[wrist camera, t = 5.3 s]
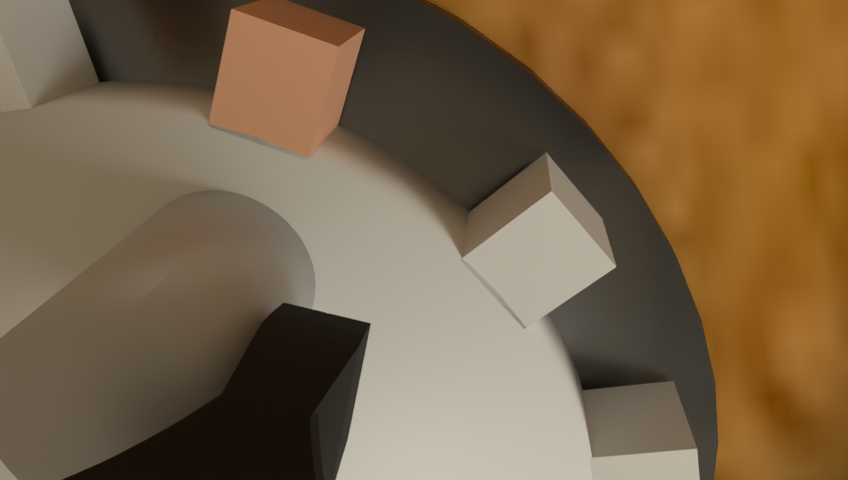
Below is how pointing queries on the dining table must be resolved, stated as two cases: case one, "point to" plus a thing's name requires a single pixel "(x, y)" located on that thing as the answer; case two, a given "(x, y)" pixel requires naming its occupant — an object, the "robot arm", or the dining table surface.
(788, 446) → the dining table surface
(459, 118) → the wheel base
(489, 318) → the sprocket wheel
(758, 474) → the dining table surface
